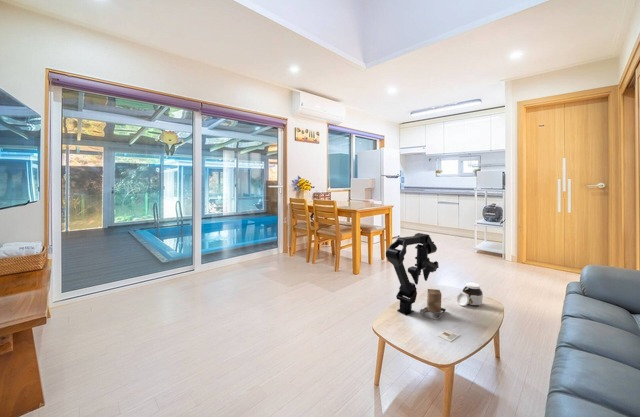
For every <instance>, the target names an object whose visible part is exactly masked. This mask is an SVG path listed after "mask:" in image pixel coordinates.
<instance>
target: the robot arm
mask: <svg viewBox="0 0 640 417" xmlns="http://www.w3.org/2000/svg"><path fill="white" fill-rule="evenodd" d="M434 242H435V241H432V238H431V236H430V234H428V233H426V234H425V233H423V232H422V233H421V232H418V233H415V234H414V235H411V236H403V237H397V238H396V240H395V241H394V242H392V243H391V244H390V245H389V246H388V247H387V248H386V251H385V257H386V259H387V261H388V262H389V263H391V264H392V266H393V268H394V272H395V273H396V276H397V280H398V281H399V284H400V285H399V288H398V289H399V291H398V292H397V293H396V295H395V296H396V299H397V300H399V308H398V309H397V312H398V313H400V314H402V315H405V316H409V315H412V314H413V313H415V311H414V310H412V308H413V307H412V306H413V304H414V303H416V300H417V295H418V292H417V290H418V288H417V285H418V284H419V277H420V276H421V275H423V278H424V281H425V282H427V281H428V279H429V276H430V273H434V272H436V271H437V269H439V262H438V261H436V260H435V261H430V257H429V256H428V255H431V254H434V253H437V250H438V248H437V245H436V244H435V243H434ZM411 245H416V246H415V247H414V249H416V256H415V257H414V259H415V260H416V263H414V266H409V267H408V268H407V270H406V268H405V265H404V263H403V262H404V260H405V256H406V254H407V247H408V246H411ZM399 246H402V249H398V247H399ZM407 273H408V274H410V276H411V277H412V280H413V282H410V280H409V276H408V274H407ZM421 273H422V274H421Z"/></svg>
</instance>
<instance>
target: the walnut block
mask: <svg viewBox="0 0 640 417" xmlns="http://www.w3.org/2000/svg"><path fill="white" fill-rule="evenodd" d="M442 295H443V294H442V292H441V290H440V289H435V288H434V289H433V288H427V296H426V297H427V299H426V301H427V302H426V307H427V308H428V310H427V311H428V313H429V312H430V313H440V314H441V313H442V311H441V308H442Z"/></svg>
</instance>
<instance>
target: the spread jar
mask: <svg viewBox="0 0 640 417" xmlns="http://www.w3.org/2000/svg"><path fill="white" fill-rule="evenodd" d="M483 295H484V294H483V290H482V289H481V285H480V284H479V283H477V282H473V281H471V282H470V281H469V282H466V283H465V286H464V287H463V289H462V292H460V293H458V294H457V296H456V302H457V304H458V305H460V306H463V307H464V306H469V307H473V308H476V307H477V308H478V307H479V306H481V304H482V303H483V297H484V296H483Z"/></svg>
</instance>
